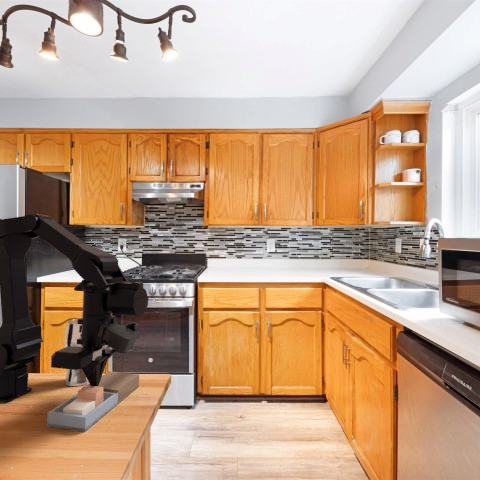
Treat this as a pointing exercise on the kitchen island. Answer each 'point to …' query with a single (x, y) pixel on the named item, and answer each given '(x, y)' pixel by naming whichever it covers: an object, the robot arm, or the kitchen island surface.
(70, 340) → the beer glass
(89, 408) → the cream tile
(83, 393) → the terracotta tile
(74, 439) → the kitchen island surface
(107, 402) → the slate tray
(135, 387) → the dark walnut board
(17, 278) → the robot arm
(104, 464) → the kitchen island surface
